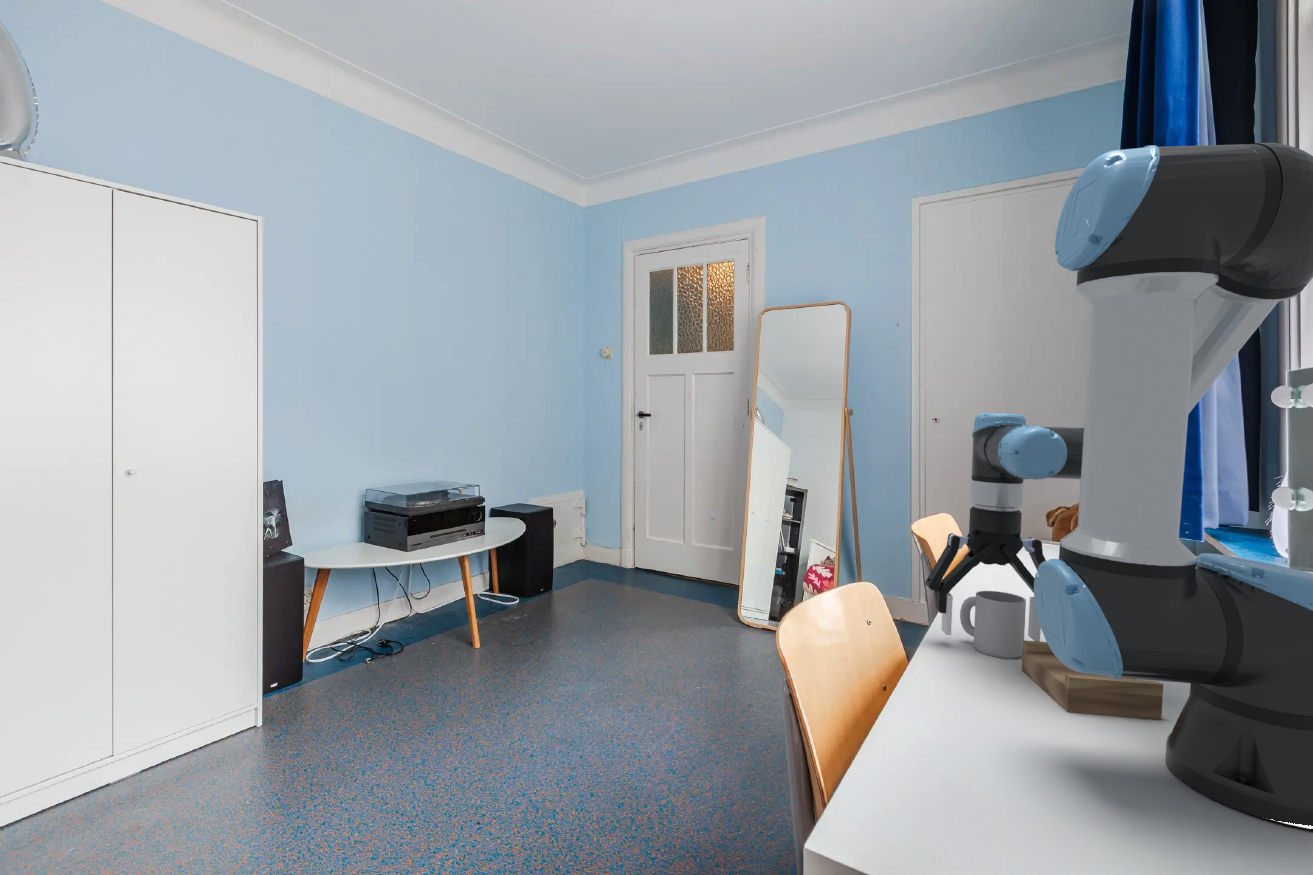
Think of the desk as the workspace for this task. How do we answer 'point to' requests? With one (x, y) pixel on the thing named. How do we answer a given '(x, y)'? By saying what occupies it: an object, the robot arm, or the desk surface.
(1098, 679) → the wooden tray
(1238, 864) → the desk surface
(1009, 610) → the cup
